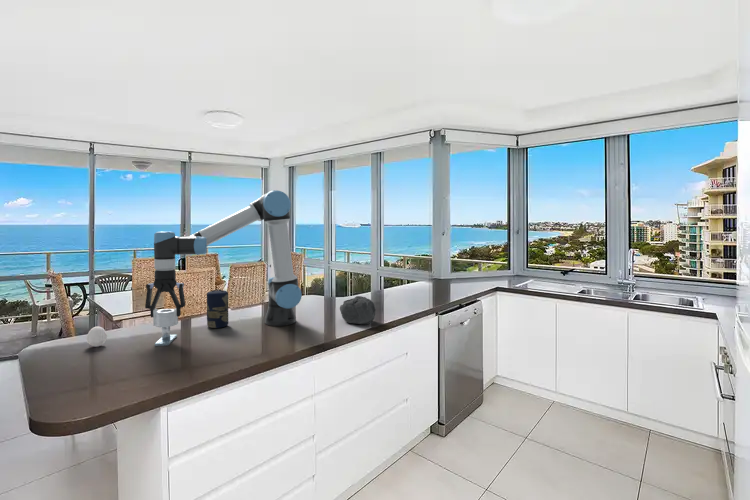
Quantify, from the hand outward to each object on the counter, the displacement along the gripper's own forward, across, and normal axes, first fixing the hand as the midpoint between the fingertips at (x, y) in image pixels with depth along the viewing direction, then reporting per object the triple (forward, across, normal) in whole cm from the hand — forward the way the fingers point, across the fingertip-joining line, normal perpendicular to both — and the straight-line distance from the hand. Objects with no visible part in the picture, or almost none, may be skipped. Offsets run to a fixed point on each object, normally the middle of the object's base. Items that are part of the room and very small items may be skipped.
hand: (166, 324), depth 155 cm
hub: (0, 0, 0) cm, 0 cm away
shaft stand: (+7, 0, 0) cm, 7 cm away
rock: (+7, -85, -16) cm, 87 cm away
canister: (+7, -17, -20) cm, 27 cm away
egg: (+7, +24, +2) cm, 25 cm away
